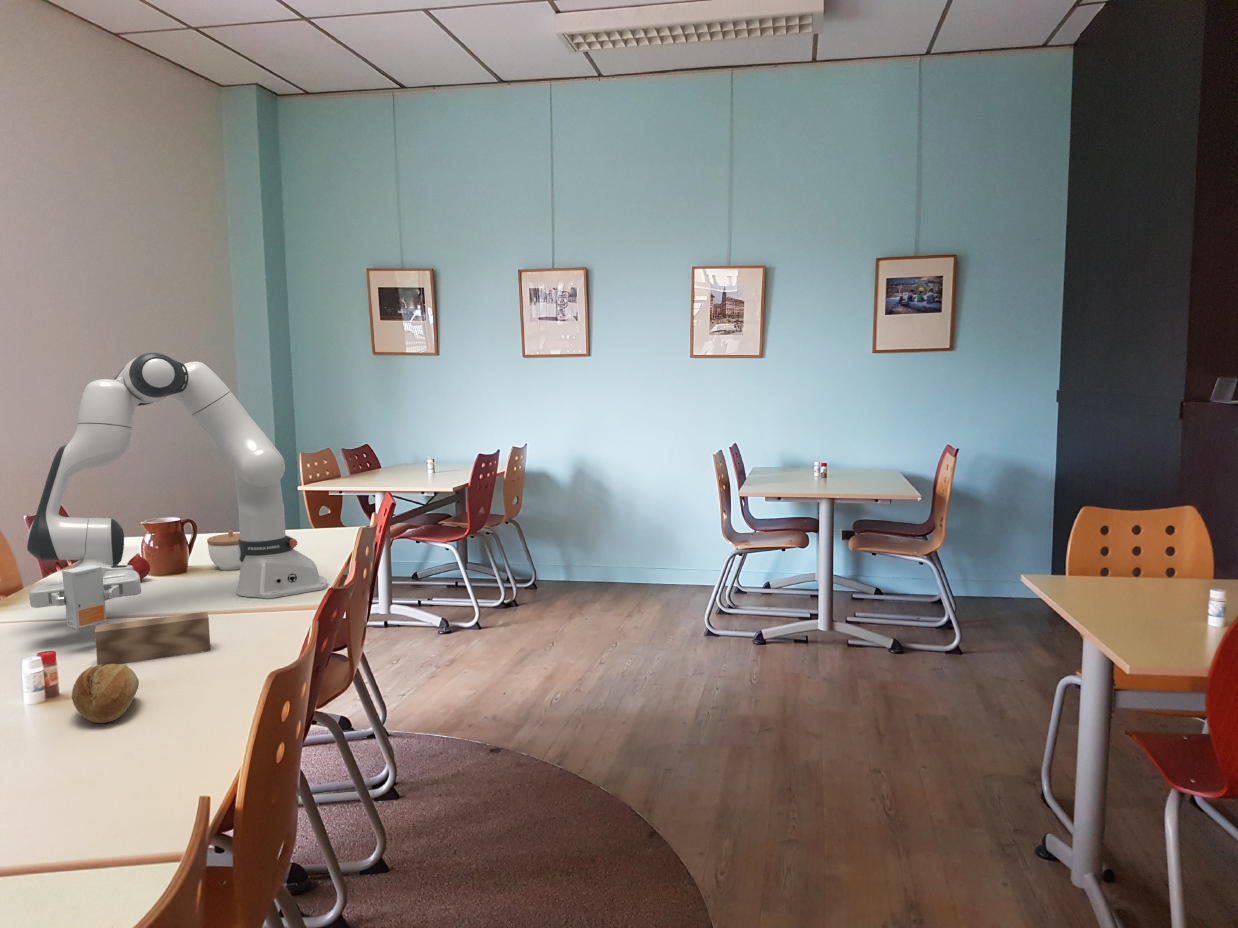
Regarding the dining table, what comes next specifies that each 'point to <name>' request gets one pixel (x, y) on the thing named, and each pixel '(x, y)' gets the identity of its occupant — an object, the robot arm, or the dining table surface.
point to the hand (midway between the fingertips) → (84, 598)
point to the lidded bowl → (225, 550)
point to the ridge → (152, 638)
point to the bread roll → (104, 692)
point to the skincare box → (84, 596)
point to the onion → (140, 566)
